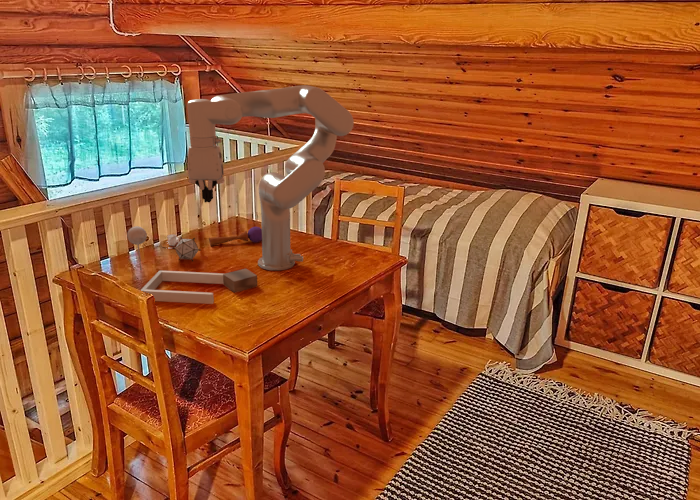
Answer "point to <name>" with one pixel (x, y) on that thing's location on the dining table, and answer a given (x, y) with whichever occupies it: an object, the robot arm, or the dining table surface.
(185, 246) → the game die
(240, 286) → the walnut block
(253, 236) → the kendama
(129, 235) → the lollipop
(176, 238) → the teacup and saucer
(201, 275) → the u-shaped grey frame
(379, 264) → the dining table surface
